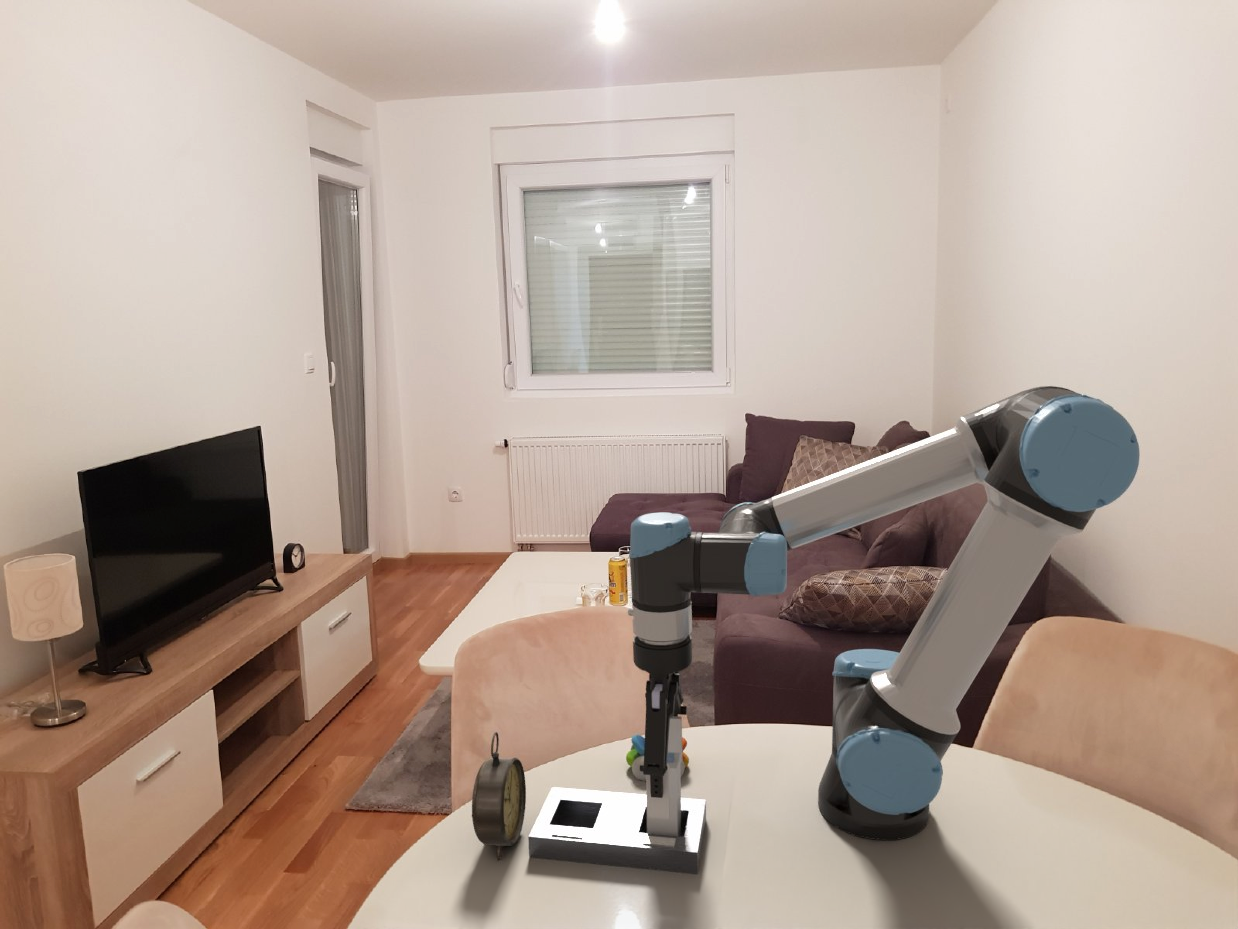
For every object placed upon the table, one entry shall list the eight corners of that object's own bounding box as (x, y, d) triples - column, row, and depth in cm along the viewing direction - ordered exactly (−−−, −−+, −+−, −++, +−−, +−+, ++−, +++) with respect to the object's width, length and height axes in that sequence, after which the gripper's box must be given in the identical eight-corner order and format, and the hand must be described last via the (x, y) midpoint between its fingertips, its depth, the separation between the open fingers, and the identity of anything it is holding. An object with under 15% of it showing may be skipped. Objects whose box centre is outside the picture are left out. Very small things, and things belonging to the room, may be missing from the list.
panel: (706, 823, 123) (706, 798, 122) (697, 878, 112) (697, 851, 111) (553, 809, 127) (552, 785, 127) (529, 861, 116) (528, 835, 115)
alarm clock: (508, 871, 114) (502, 755, 111) (467, 868, 115) (461, 752, 112) (529, 822, 124) (525, 714, 121) (492, 819, 125) (487, 712, 122)
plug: (681, 834, 120) (680, 748, 117) (677, 852, 116) (676, 764, 114) (651, 831, 121) (650, 746, 118) (647, 849, 117) (645, 761, 114)
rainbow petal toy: (691, 785, 133) (690, 740, 132) (626, 786, 133) (625, 742, 132) (686, 756, 141) (686, 714, 140) (626, 757, 142) (625, 715, 140)
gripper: (648, 600, 126) (652, 739, 129) (614, 673, 101) (620, 841, 105) (700, 602, 124) (703, 742, 128) (679, 676, 100) (683, 846, 104)
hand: (666, 787), depth 117 cm, fingers open, 13 cm apart
